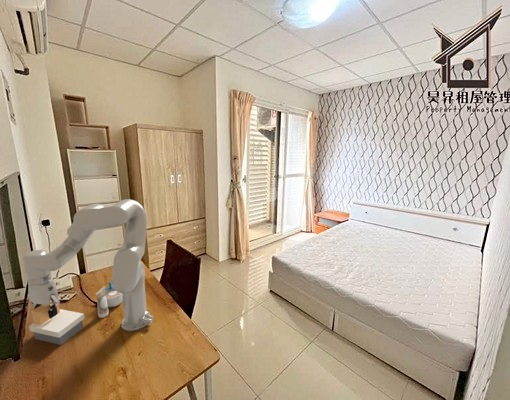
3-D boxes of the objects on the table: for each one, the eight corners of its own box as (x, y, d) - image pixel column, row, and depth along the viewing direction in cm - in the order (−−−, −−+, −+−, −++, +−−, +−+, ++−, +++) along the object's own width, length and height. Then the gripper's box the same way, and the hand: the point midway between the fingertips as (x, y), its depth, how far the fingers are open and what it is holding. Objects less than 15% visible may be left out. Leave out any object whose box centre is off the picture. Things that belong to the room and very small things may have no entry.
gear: (99, 298, 126) (119, 292, 129) (96, 288, 125) (117, 283, 128) (105, 288, 136) (123, 284, 140) (102, 279, 135) (121, 275, 139)
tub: (83, 327, 106) (81, 316, 105) (61, 345, 96) (59, 333, 95) (58, 322, 109) (56, 311, 107) (34, 339, 99) (32, 327, 98)
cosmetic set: (108, 320, 111) (104, 286, 107) (89, 320, 111) (84, 285, 107) (134, 289, 135) (131, 260, 131) (118, 289, 135) (115, 260, 131)
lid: (84, 318, 106) (82, 302, 104) (59, 337, 95) (56, 320, 93) (57, 312, 108) (54, 297, 107) (29, 331, 98) (26, 313, 96)
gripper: (65, 276, 100) (71, 312, 104) (33, 271, 103) (40, 306, 107) (46, 286, 93) (53, 324, 97) (13, 280, 96) (21, 317, 100)
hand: (46, 314), depth 102 cm, fingers open, 6 cm apart
